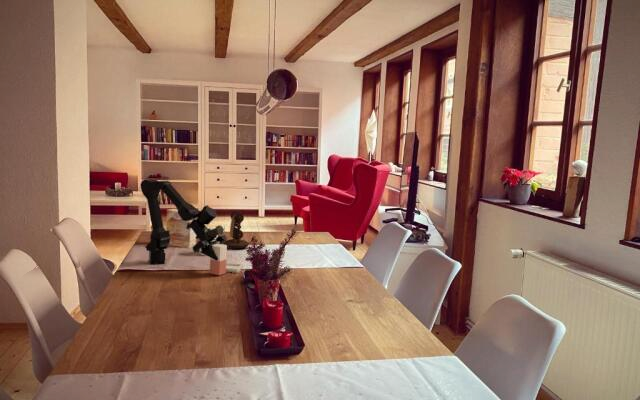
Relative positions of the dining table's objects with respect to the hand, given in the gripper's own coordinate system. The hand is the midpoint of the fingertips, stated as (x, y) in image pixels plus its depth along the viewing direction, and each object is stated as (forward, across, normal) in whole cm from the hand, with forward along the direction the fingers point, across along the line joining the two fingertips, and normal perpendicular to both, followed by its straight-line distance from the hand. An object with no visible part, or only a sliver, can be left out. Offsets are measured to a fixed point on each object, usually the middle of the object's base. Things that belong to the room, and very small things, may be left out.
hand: (221, 258), depth 214 cm
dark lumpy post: (-12, +51, +23) cm, 58 cm away
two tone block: (+4, 0, +6) cm, 7 cm away
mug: (-13, +30, +24) cm, 41 cm away
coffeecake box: (-31, +37, +42) cm, 64 cm away
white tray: (+4, +10, +6) cm, 12 cm away
